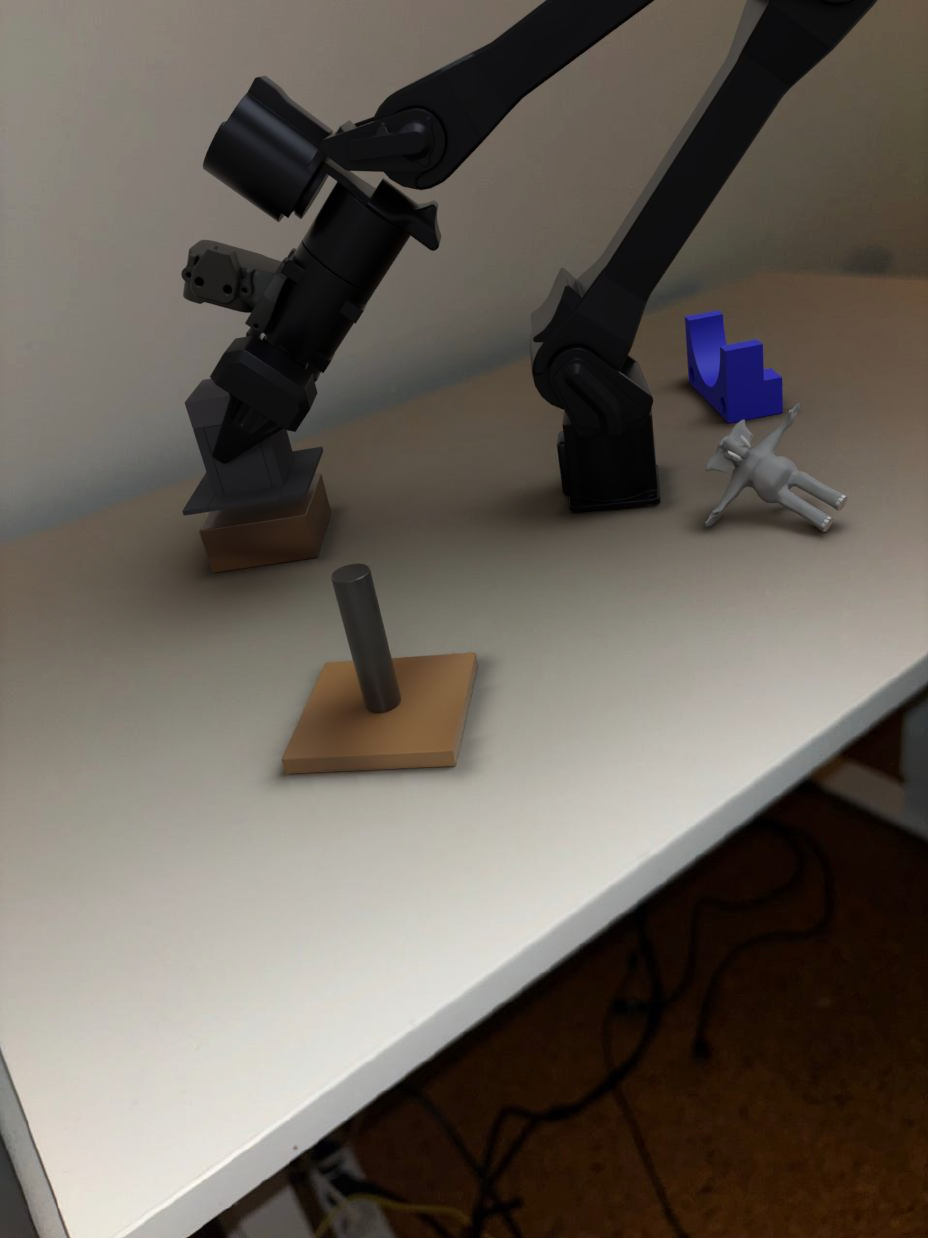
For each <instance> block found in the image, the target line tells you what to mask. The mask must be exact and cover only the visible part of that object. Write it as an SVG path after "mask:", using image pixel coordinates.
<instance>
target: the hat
mask: <svg viewBox="0 0 928 1238" xmlns="http://www.w3.org/2000/svg"><path fill="white" fill-rule="evenodd" d="M229 398H230V396H229V393H228V392H226V391H225V390H223V389H222V388H220V387H219V386H217V385H216V384H215V383H214V382H213V381H212V379H211V378H206V379H205V378H204V379H201V381H199V383H198V385H197V386H196V387H195V388H194V390H193V391H192V392H191V394H190V395H189V396H188V397H187V398H186V400H185V401H184V406H185V409H186V412H187V415H188V418H189V421H190V424H191V429H192V430H193V431H192V432H193V435H194V437H195V440H196V444H197V447H198V450H199V454H200V456H201V460H202V463H203V466H204V469H205V474H203V477H202V478H201V479H200V480H199V483H198V485H197V486H196V488H195V490H194V491H193V493H192V494H191V496H190V497H189V499H188V501H187V502H186V504H185V506H184V507H183V508H182V510H181V513H182V515H183V516H184V517H185V516H192V515H197V514H199V515H200V514H205V513H209V512H211V511H218V510H224V509H231V508H237V507H244V506H250V505H257V504H263V503H270V502H276V501H282V500H289V499H295V498H302V497H306V496H307V493H308V491H309V488H310V485H311V483H312V480H313V477H314V475H315V474H316V473H317V469H318V467H319V464H320V461H321V459H322V456H323V453H324V448H323V446H316V447H309V448H304V449H299V450H293V448H292V444H291V441H290V437H289V432H288V430H285V429H282V430H280V431H279V432H277V433H275V434H273V435H272V436H270V437H268V438H266V439H265V440H263V441H262V442H260V443H258V444H256V445H255V446H253V447H252V448H250V449H248V450H247V451H245V452H244V453H242V454H240V455H239V456H237V457H236V458H234V459H232V460H231V461H229V462H228V463H226V464H224V463H221V462H220V461H218V460H217V459H215V458H214V457H213V456H212V453H213V450H214V447H215V444H216V440H217V437H218V434H219V431H220V428H221V425H222V422H223V418H224V415H225V412H226V409H227V405H228V402H229Z"/></svg>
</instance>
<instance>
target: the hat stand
mask: <svg viewBox="0 0 928 1238" xmlns="http://www.w3.org/2000/svg"><path fill="white" fill-rule="evenodd" d="M373 579H374V578H373V575H372V571H371V567H370V566H369V565H367V564H365V563H350V564H346V565H343V566H341V567H338V568H336V569H335V570H334V571H333V572H332V573H331V577H330V580H331V583H332V587H333V590H334V595H335V599H336V602H337V606H338V611H339V614H340V617H341V622H342V625H343V628H344V633H345V636H346V641H347V643H348V648H349V651H350V655H351V659H352V660H346V661H345V660H344V661H343V660H342V661H329V662H325V663H324V665H323V666H322V669H321V671H320V673H319V676H318V678H317V680H316V682H315V684H314V687H313V689H312V691H311V693H310V695H309V697H308V700H307V702H306V704H305V706H304V709H303V711H302V713H301V715H300V717H299V719H298V721H297V724H296V726H295V728H294V730H293V732H292V735H291V737H290V739H289V742H287V743H288V744H287V746H286V747H285V750H284V752H283V753H282V754H283V755H282V757H281V763H282V766H283V769H284V772H285V774H287V775H290V774H311V773H331V772H334V773H335V772H353V771H354V772H355V771H374V770H376V771H377V770H395V769H396V770H397V769H416V768H417V769H418V768H438V767H455V766H456V765H457V762H458V758H459V753H460V748H461V745H462V744H461V743H462V740H463V735H464V730H465V727H466V722H467V717H468V714H469V713H468V712H469V709H470V704H471V699H472V696H473V690H474V686H475V682H476V678H477V672H478V669H479V663H478V658H477V653H476V652H474V651H473V652H461V653H460V652H459V653H445V654H432V655H431V654H430V655H418V656H402V657H401V656H400V657H392V654H391V650H390V645H389V641H388V637H387V633H386V629H385V625H384V621H383V616H382V611H381V609H380V604H379V600H378V599H379V598H378V596H377V592H376V588H375V583H374V580H373Z"/></svg>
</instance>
